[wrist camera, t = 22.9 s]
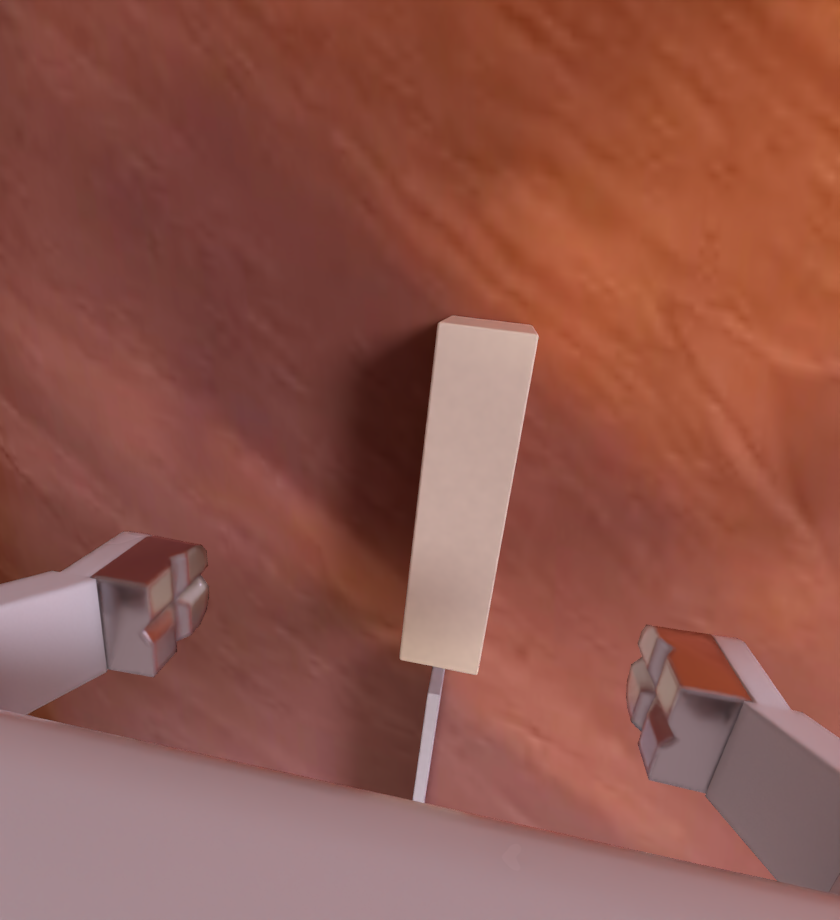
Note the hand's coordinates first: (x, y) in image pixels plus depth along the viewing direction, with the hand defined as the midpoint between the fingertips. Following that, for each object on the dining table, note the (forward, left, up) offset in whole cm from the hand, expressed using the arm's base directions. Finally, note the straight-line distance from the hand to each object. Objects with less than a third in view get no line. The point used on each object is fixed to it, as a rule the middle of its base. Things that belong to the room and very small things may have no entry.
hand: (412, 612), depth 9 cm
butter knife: (+1, -6, -8) cm, 10 cm away
